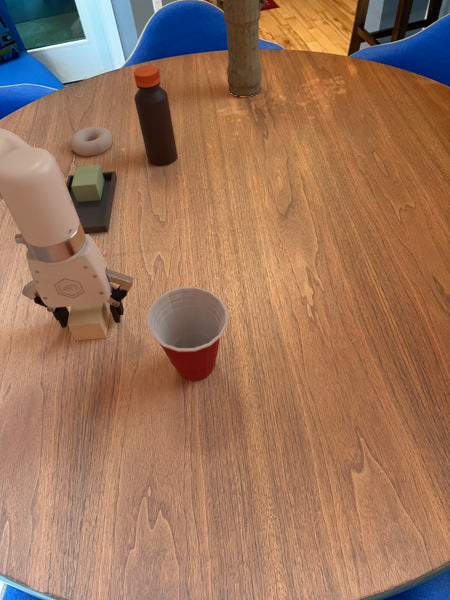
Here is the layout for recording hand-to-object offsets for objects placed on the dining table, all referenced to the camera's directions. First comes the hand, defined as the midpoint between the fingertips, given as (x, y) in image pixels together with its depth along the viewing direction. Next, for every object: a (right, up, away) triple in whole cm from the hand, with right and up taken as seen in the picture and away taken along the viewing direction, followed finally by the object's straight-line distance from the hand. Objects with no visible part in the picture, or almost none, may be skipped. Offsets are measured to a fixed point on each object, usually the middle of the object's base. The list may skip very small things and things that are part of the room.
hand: (92, 318), depth 78 cm
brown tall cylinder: (+27, +59, +50) cm, 82 cm away
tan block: (0, -1, +1) cm, 1 cm away
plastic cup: (+18, -7, -6) cm, 20 cm away
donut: (-10, +39, +36) cm, 54 cm away
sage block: (-7, +26, +24) cm, 36 cm away
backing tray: (-7, +22, +21) cm, 31 cm away
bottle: (+8, +35, +31) cm, 47 cm away
